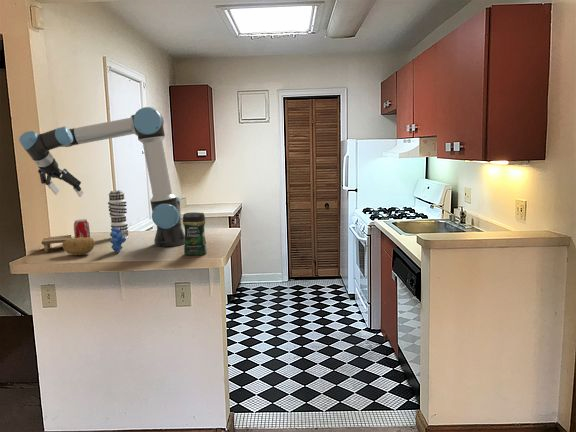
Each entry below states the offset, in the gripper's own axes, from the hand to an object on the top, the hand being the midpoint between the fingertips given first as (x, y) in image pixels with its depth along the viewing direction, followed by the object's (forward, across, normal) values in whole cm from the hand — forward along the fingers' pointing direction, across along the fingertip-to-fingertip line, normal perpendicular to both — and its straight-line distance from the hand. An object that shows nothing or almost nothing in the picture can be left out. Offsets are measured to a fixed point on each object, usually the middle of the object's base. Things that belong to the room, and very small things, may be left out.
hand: (69, 193), depth 224 cm
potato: (+10, +16, -27) cm, 33 cm away
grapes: (+14, +32, -21) cm, 40 cm away
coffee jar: (+13, +68, -17) cm, 72 cm away
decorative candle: (+34, +12, 0) cm, 36 cm away
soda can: (+25, +1, -12) cm, 28 cm away
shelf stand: (+17, -4, -21) cm, 27 cm away
